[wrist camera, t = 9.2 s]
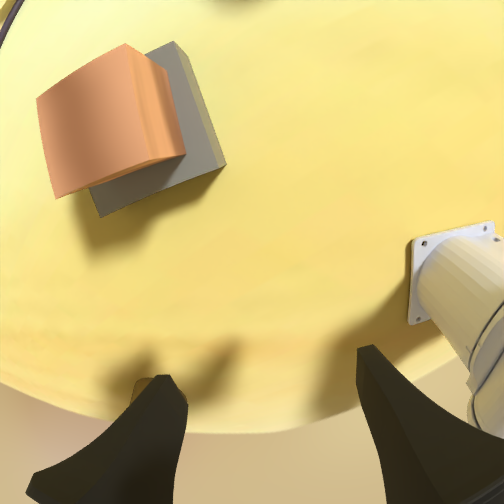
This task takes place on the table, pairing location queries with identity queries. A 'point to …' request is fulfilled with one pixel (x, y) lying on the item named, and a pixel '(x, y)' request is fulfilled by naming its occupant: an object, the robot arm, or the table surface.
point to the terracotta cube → (108, 121)
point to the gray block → (193, 133)
